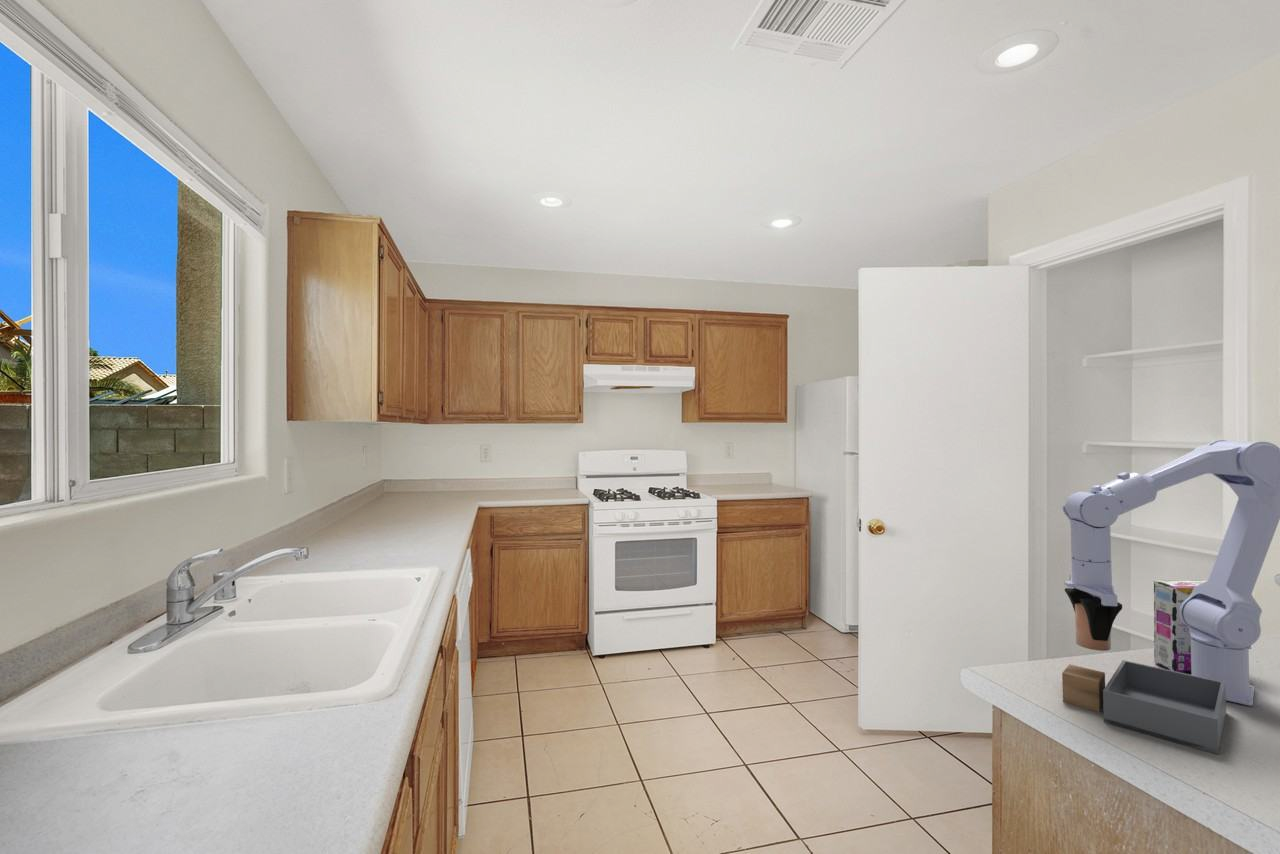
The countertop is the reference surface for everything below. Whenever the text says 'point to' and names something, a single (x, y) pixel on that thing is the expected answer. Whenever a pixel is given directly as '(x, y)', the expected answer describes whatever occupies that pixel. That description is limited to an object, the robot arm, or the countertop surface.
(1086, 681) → the walnut cube
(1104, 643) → the terracotta cylinder
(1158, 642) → the candy bar box
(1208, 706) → the box
